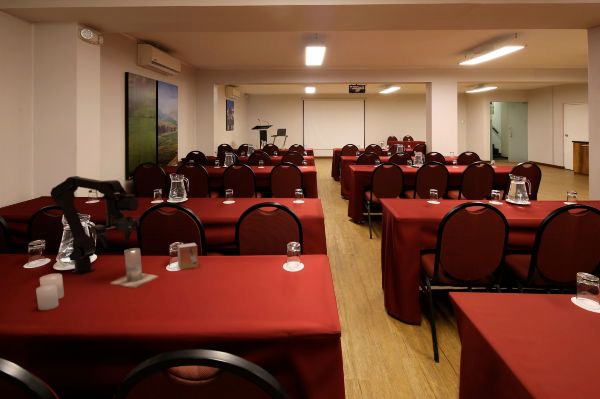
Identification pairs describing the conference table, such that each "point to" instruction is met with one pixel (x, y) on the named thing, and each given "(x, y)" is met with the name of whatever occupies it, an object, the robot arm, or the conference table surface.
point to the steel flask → (133, 264)
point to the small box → (187, 256)
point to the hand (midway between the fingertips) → (116, 245)
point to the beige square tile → (135, 284)
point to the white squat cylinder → (47, 297)
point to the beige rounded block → (53, 282)
